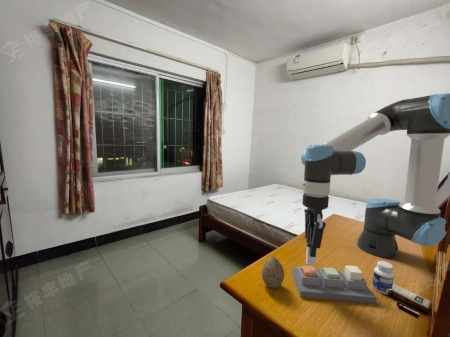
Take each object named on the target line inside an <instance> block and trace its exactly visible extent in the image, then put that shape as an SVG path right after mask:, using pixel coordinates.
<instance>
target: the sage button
mask: <svg viewBox="0 0 450 337" xmlns="http://www.w3.org/2000/svg"><path fill="white" fill-rule="evenodd" d="M322 269H323V273H324V275H325V277H326V278H334V279H339V274H338V273H337V271H338V270H337V269H336V268H334V267H323V268H322Z"/></svg>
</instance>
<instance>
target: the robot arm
mask: <svg viewBox="0 0 450 337" xmlns="http://www.w3.org/2000/svg"><path fill="white" fill-rule="evenodd" d="M395 131H406V136H407V137H409V138H410V140H411V141H410V149H409V150H410V151H409V157H408V168H407V175H406V183H405V193H404V201H402V202H400V201H398V200H395V199H387V198H369V199H368V200H367V202H366V206H365V213H364V223H363V229H362V231H361V232H360V235H359V236H358V238H357V241H356V245H357V247H358V248H359V249H361V250H362V251H364V252H366V253H368V254H370V255H373V256H376V257H381V258H385V259H387V258H388V259H391V258H392V259H394V258H397V257H398V256H399V246H398V242H397V239H396V236H398V237H400V238H403V239H405V240H408V241H410V242H412V243H413V244H416V245H420V246H423V247H425V248H426V247H427V248H429V247H430V248H431V247H433V246H436V245H438V244H439V243H440V242H441V241H443V239H444V238H445V236H446V235H447V232H446V231H445V224H446V221H447V220H446V219H445V218H444V217H441V209H439V208H438V207H437V206H436V202H437V198H438V197H437V196H438V190H439V182H440V174H441V166H442V162H443V161H442V160H443V153H444V144H445V139H446V138H448V137H449V136H450V92H448V93H447V92H446V93H434V94H431V95H426V96H425V95H424V96H419V97H413V98H407V99H401V100H398V101H396V102H393V103H390V104H388V105H387V106H384V107H382V108H381V109H379V110H376V111H375V112H373V113H372V114H369V116H368V117H367V119H366V120H364V121H362V122H360V123H359V124H357V125H355V126H353V127H351V128H350V129H347V130H346V131H345V132H342V133H341V134H340V135H338V136H336V137H334V138H332V139H331V140H329V141H327V142H325V143H324V144H309V145H308V146H306V149H305V150H304V151H303V152H302V154H301V163H302V165H303V166H304V171H303V172H304V174H303V183H302V184H301V186H302V187H303V190H302V191H303V194H302V201H301V202H302V205H303V206H304V207H305V208H306V209H305V208H304V238H305V240H306V253H305V263H306V266H316V265H317V251H318V249H321V246H322V240H323V235H324V230H325V228H326V225H327V224H326V221H324V222H323V221H322V220H323V217H324V215H323V210H326V209H328V207H329V200H330V197H329V195H330V190H331V177H332V176H340V175H342V176H343V175H344V176H345V175H347V176H348V175H349V176H352V175H357V174H360V173H362V172H363V171H364V170H365V168H366V163H367V161H366V157H365V154H363V153H361V152H360V151H356V149H357V148H359V147H360V146H362V145H364V144H365V143H368V142H369V141H370V140H371V141H372V139H374V138H376V137H377V136H384V135H386V134H388V133H389V132H395ZM354 150H355V151H354Z"/></svg>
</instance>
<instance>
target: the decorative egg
mask: <svg viewBox="0 0 450 337" xmlns="http://www.w3.org/2000/svg"><path fill="white" fill-rule="evenodd" d="M261 279H262V281H263V283H264V284H265V286H267V287H269V288H271V289H276V288H279V287H280V286H281V285H282V284H283V282H284V280H285V269H284V268H283V265H282V263H281V262H280V261H279V259H278V258H277V257H275V256H272V257H270V258H268V259H267V260H266V261H265V262H264V264H263V265H262V269H261Z"/></svg>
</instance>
